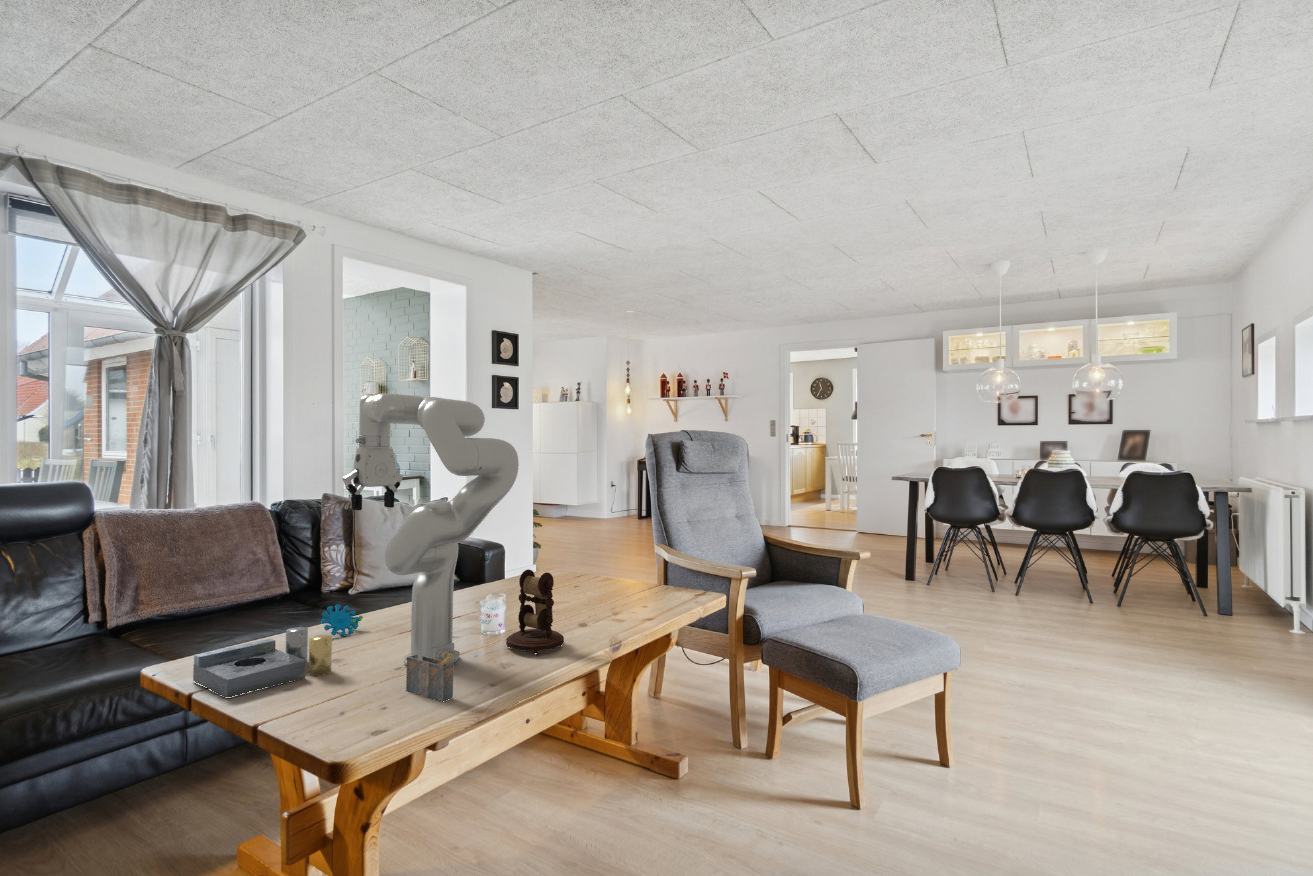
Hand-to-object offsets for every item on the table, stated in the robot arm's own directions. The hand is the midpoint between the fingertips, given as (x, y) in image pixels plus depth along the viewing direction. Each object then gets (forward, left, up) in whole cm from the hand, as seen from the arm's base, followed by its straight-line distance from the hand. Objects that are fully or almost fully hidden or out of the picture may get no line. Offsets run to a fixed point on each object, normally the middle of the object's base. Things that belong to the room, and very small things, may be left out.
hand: (373, 508), depth 179 cm
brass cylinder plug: (-10, +19, -36) cm, 42 cm away
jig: (-3, +31, -35) cm, 47 cm away
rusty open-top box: (-41, +13, -36) cm, 56 cm away
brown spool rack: (-35, -24, -36) cm, 56 cm away
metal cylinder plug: (0, +19, -36) cm, 40 cm away
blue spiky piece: (+16, -1, -36) cm, 39 cm away
